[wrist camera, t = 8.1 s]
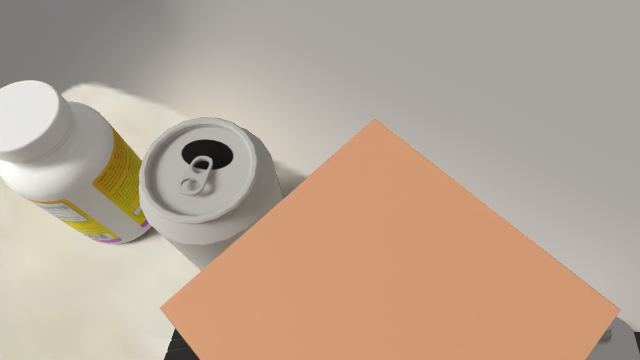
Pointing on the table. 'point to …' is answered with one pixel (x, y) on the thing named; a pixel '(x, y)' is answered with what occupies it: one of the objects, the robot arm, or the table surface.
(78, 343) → the table surface
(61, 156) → the supplement bottle
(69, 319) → the table surface
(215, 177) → the can
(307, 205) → the orange rectangular block
